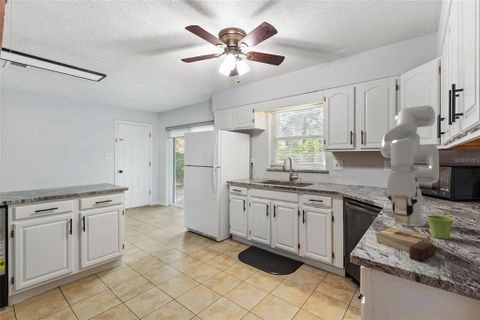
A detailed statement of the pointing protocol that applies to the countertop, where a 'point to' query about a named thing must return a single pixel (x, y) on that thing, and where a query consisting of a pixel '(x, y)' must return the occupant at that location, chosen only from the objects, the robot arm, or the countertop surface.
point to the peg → (401, 210)
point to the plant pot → (440, 226)
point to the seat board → (401, 238)
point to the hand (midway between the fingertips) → (402, 213)
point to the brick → (421, 251)
